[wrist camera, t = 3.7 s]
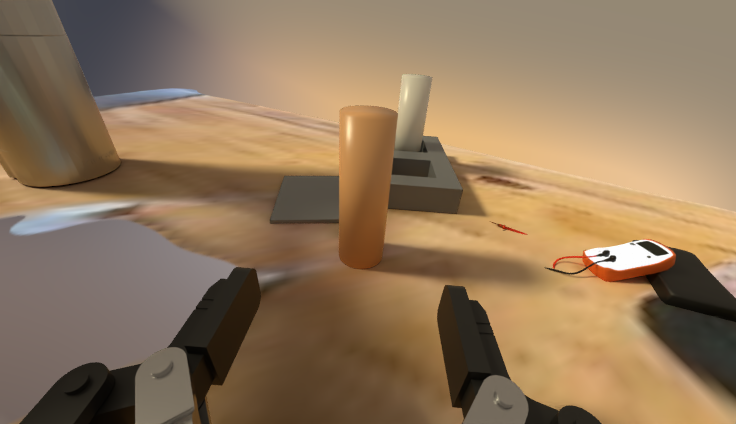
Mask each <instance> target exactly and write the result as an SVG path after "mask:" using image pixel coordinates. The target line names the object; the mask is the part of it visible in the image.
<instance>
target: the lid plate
mask: <svg viewBox="0 0 736 424" xmlns="http://www.w3.org/2000/svg"><path fill="white" fill-rule="evenodd" d="M278 223H339V176H284V179H283V182H282V185H281V188H280V191H279V194H278V197H277V200H276V203H275V206H274V209H273V212H272V215H271V218H270V224H278Z"/></svg>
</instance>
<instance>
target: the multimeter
mask: <svg viewBox="0 0 736 424" xmlns="http://www.w3.org/2000/svg"><path fill="white" fill-rule="evenodd" d="M490 222H491V221H490ZM492 223H494V222H492ZM494 224H496V223H494ZM497 225H498V226H500V227H502V228H503V229H504V228H505V229H508V230H510V231H514V232H517V233H521V234H525V233H523V232H520V231H517V230H514V229H511V228H509V227H506V226H505V225H501V224H497ZM526 235H527V234H526ZM564 258H583V262H584V264H585V266H586V268H584V269H583V270H581V271H578V272H575V273H567V272H562V271H559V270H555V264H556V262H557V261H559V260H561V259H564ZM544 268H546V267H544ZM553 268H554V269H551V268H546V269H549V270H553V271H557V272H561V273H564V274H578V273H580V272H582V271H584V270H586V269H587V268H588V269H589V270H590V271H591V272H592V273H593V274H595V275H596V276H597V277H599V278H601V279H602V280H604V281H608V282H612V281H618V280H623V279H628V278H633V277H638V276H644V275H645V276H646V277H647V279H648V280H649V282H650V283H651V285H652V287H653V288H654V290H655V291H656V293H657V295H658V296H659V298H660V299H661V300H662V301H663V302H664V303H665V304H668V305H671V306H675V307H679V308H683V309H687V310H691V311H695V312H699V313H703V314H707V315H711V316H715V317H719V318H722V319H726V320H730V321H734V322H736V298H735V297H734V296H733V295H732V294H731V293H730V292H729V291H728V290H727V289H726V288H725V287H724V286H723V285H722V284H721V283H720V282H719V281H718V280H717V279H716V278H715V277H714V276H713V275H712V274H711V273H710V272H709V271H708V269H707V268H706V267H705V266H704V265H703V264H702V263H701V261H700V260H699V259H698V258H697V257H696V256H695V255H694V254H692V253H690V252H687V251H684V250H680V249H676V248H671V247H666V246H665V245H663V244H661V243H659V242H657V241H654V240H651V239H644V240H633V241H632V242H630V243H626V244H622V245H617V246H613V247H606V248H594V249H590V250H585V251H583V256H568V257H562V258H559V259H557V260H556V261H555V262H554V264H553Z"/></svg>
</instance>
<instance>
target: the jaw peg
mask: <svg viewBox="0 0 736 424" xmlns="http://www.w3.org/2000/svg"><path fill="white" fill-rule="evenodd" d="M397 120H398V113H397V112H396V111H394V110H391V109H388V108H383V107H377V106H348V107H344V108H342V109H340V133H339V257H340V259H341V261H342V262H343V263H344V264H346V265H347V266H349V267H352V268H356V269H367V268H371V267H374V266H376V265H377V264H378V263H379V262H380V261H381V259H382V255H383V246H384V237H385V228H386V219H387V210H388V201H389V192H390V183H391V174H392V165H393V156H394V147H395V138H396V129H397Z"/></svg>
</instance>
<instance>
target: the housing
mask: <svg viewBox="0 0 736 424" xmlns="http://www.w3.org/2000/svg"><path fill="white" fill-rule="evenodd" d="M431 82H432V77H430V76H425V75H416V74H404V75H402V81H401V91H400V99H399V108H398V120H397V129H396V138H395V147H394V156H393V165H392V174H391V183H390V192H389V201H388V208H391V209H403V210H416V211H429V212H441V213H454V214H457V210H458V207H459V203H460V199H461V195H462V191H463V189H462V187H461V185H460V182H459V180H458V178H457V176H456V174H455V172H454V170H453V168H452V166H451V164H450V162H449V160H448V158H447V156H446V154H445V152H444V150H443V147H442V145H441V143H440V142H439V140H438V137H431V136H423V131H424V125H425V119H426V113H427V106H428V100H429V94H430V88H431Z"/></svg>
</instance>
